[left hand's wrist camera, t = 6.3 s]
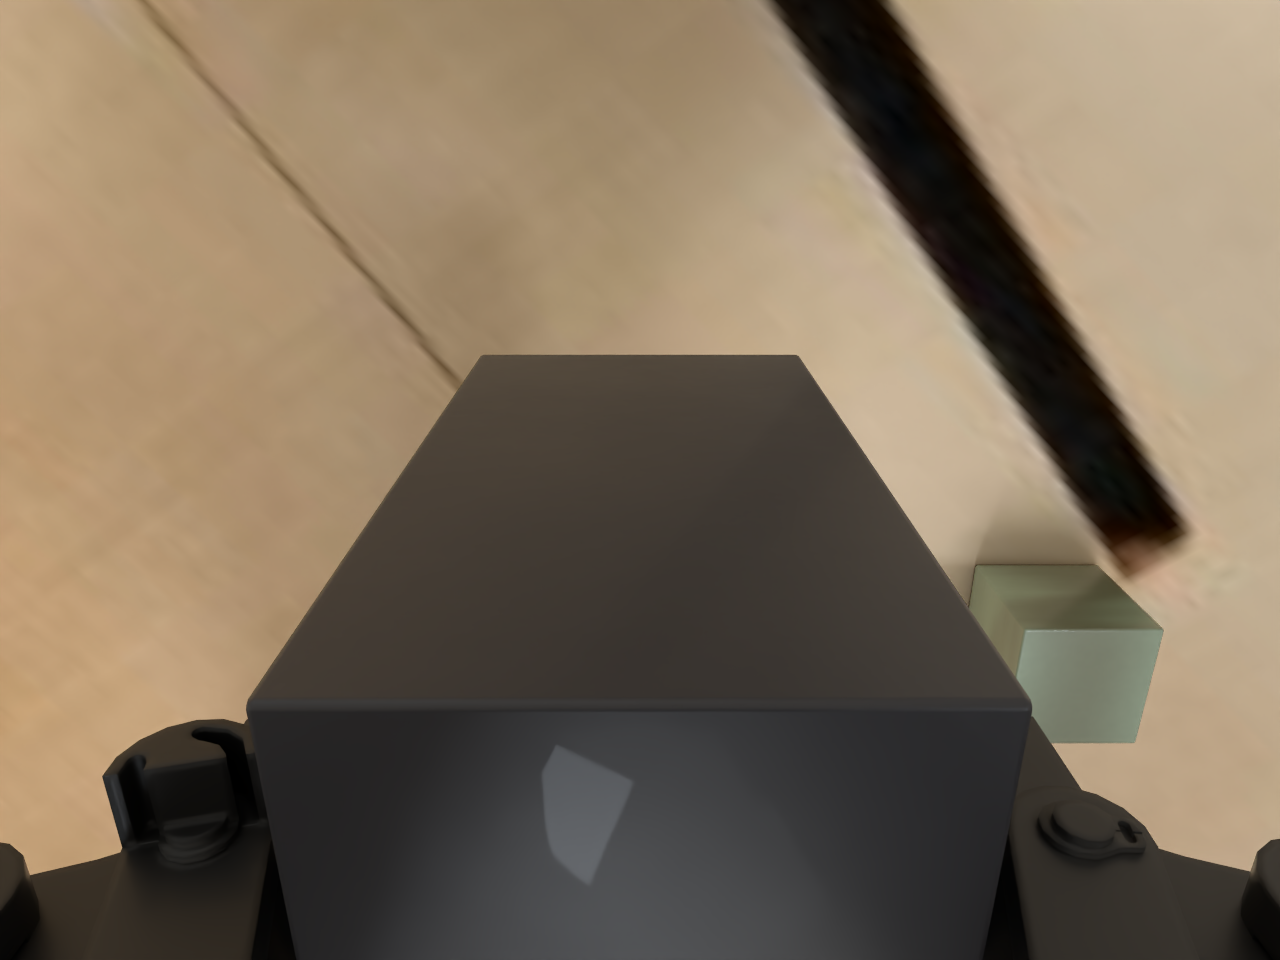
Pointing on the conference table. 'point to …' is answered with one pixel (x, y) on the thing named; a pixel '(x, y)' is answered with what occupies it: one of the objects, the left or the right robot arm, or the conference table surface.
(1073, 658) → the sage block
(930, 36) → the conference table surface
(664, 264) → the conference table surface
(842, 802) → the beam
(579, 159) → the conference table surface
